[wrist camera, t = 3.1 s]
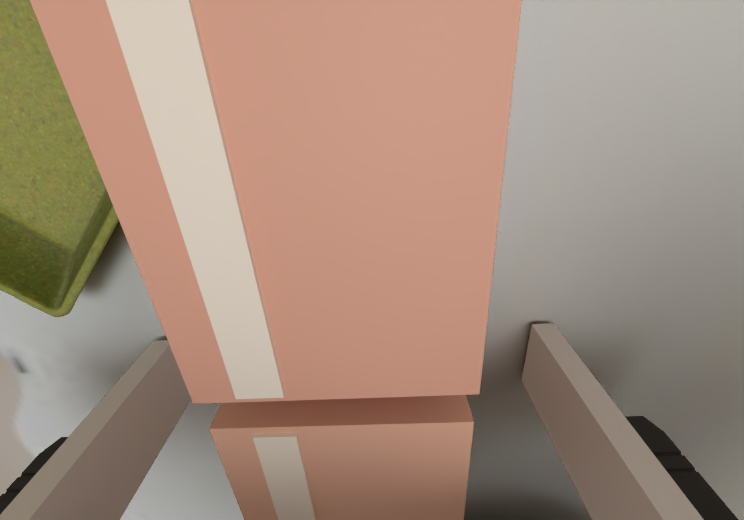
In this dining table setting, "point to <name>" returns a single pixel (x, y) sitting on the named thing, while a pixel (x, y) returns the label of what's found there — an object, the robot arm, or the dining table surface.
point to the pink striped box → (302, 182)
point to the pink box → (347, 457)
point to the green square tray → (44, 175)
